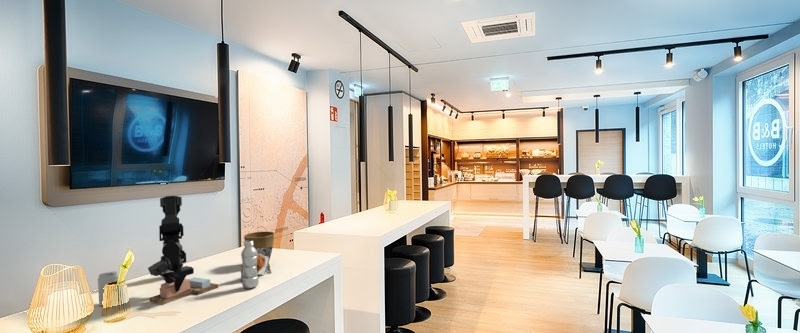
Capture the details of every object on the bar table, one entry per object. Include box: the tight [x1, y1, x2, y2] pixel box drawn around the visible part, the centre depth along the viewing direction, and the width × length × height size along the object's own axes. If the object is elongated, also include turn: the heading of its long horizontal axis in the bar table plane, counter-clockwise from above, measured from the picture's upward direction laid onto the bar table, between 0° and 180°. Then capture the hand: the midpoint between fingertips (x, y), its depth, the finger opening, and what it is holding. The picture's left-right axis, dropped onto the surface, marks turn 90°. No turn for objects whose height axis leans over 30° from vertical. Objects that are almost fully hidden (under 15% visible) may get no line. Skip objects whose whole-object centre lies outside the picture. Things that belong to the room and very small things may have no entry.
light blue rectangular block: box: [188, 276, 211, 289], centre depth 161 cm, size 10×4×4 cm, turn 66°
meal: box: [240, 247, 273, 282], centre depth 173 cm, size 15×4×13 cm, turn 152°
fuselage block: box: [159, 278, 191, 299], centre depth 153 cm, size 4×10×6 cm, turn 155°
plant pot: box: [243, 231, 275, 264], centre depth 195 cm, size 15×15×16 cm
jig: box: [149, 282, 219, 305], centre depth 156 cm, size 15×22×2 cm
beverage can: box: [97, 271, 119, 306], centre depth 147 cm, size 6×6×12 cm
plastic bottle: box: [240, 240, 260, 289], centre depth 160 cm, size 6×7×20 cm
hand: (173, 290), depth 152 cm, fingers open, 4 cm apart
